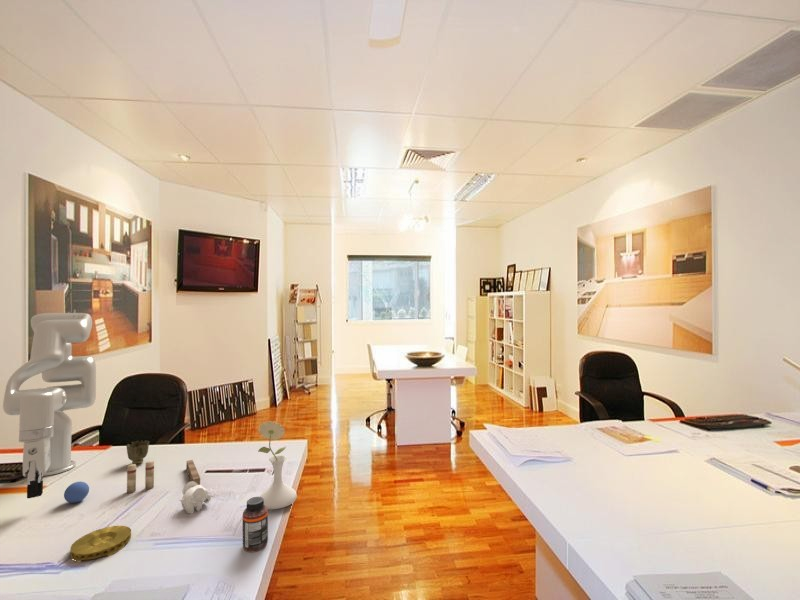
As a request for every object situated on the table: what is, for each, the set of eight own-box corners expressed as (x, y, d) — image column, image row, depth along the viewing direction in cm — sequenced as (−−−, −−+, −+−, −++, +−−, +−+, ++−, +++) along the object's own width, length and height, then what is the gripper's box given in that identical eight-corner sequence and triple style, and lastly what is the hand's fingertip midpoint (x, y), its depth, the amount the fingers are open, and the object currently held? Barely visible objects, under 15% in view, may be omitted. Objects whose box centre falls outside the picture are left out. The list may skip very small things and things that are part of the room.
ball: (65, 500, 118) (65, 481, 119) (89, 495, 122) (90, 476, 122) (62, 508, 114) (62, 488, 114) (88, 502, 117) (88, 483, 117)
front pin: (126, 491, 125) (127, 465, 125) (135, 489, 126) (136, 463, 126) (126, 494, 123) (127, 467, 123) (135, 491, 124) (136, 465, 124)
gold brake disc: (61, 569, 87) (61, 559, 87) (81, 540, 98) (81, 532, 98) (124, 555, 92) (124, 546, 92) (136, 529, 103) (136, 521, 103)
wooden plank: (186, 468, 142) (186, 460, 142) (192, 467, 143) (192, 459, 144) (193, 488, 126) (193, 479, 126) (200, 486, 127) (200, 477, 127)
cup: (137, 467, 144) (137, 446, 144) (121, 466, 145) (121, 445, 146) (153, 460, 151) (153, 440, 151) (138, 459, 153) (138, 439, 153)
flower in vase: (304, 497, 119) (304, 418, 120) (281, 516, 108) (281, 428, 109) (270, 492, 123) (270, 414, 124) (245, 509, 112) (245, 424, 113)
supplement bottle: (246, 539, 97) (247, 494, 97) (270, 537, 97) (270, 493, 98) (238, 554, 91) (239, 506, 91) (264, 552, 91) (264, 505, 92)
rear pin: (144, 487, 127) (145, 462, 127) (153, 485, 129) (154, 460, 129) (145, 490, 125) (145, 464, 125) (154, 488, 126) (154, 462, 127)
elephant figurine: (217, 506, 114) (218, 482, 114) (182, 519, 107) (183, 493, 107) (208, 498, 119) (208, 475, 120) (174, 509, 112) (174, 485, 113)
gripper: (49, 436, 109) (47, 501, 108) (57, 426, 121) (55, 484, 120) (12, 442, 105) (10, 510, 104) (25, 430, 117) (23, 491, 116)
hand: (34, 496), depth 112 cm, fingers closed
